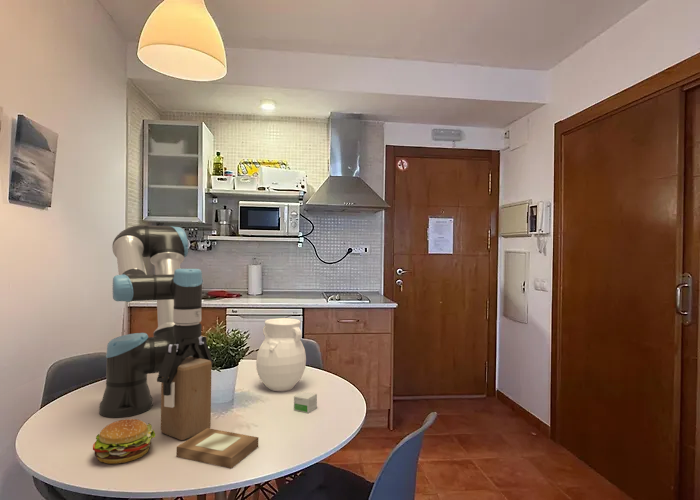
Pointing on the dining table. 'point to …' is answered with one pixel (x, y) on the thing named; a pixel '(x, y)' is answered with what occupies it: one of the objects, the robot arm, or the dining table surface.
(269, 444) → the dining table surface
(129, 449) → the food
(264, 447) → the dining table surface
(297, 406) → the small box
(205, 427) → the wooden block
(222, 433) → the board
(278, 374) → the pitcher
